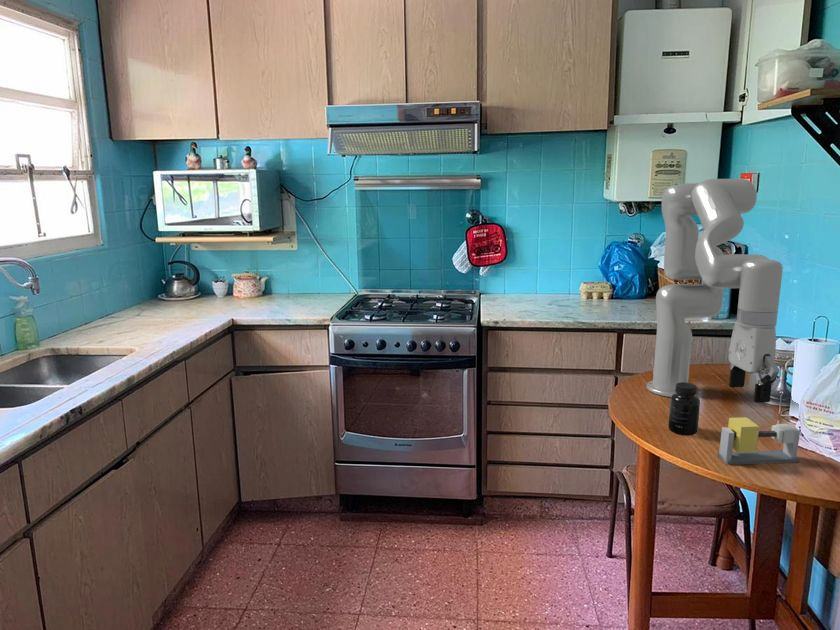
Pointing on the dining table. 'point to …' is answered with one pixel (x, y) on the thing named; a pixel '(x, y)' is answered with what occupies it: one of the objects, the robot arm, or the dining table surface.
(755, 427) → the olive yellow cube
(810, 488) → the dining table surface
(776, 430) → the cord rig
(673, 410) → the supplement bottle
